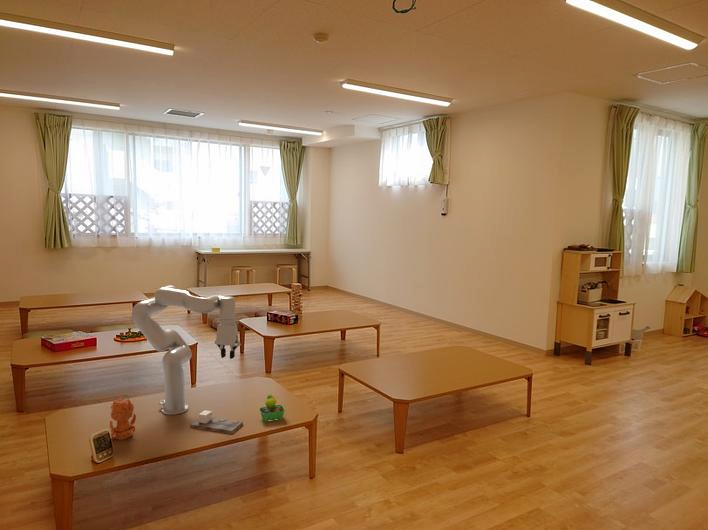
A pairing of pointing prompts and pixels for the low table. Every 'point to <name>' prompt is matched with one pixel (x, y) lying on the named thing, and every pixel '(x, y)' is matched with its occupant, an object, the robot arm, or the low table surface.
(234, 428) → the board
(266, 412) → the fruit basket
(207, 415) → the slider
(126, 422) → the orange figurine
